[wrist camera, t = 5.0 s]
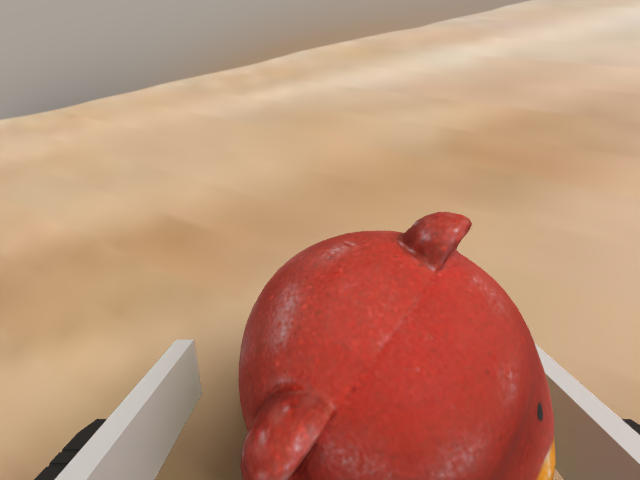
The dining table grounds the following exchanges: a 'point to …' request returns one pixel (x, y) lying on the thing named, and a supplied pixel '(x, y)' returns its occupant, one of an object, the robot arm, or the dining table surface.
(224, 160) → the dining table surface
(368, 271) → the stacking bear
